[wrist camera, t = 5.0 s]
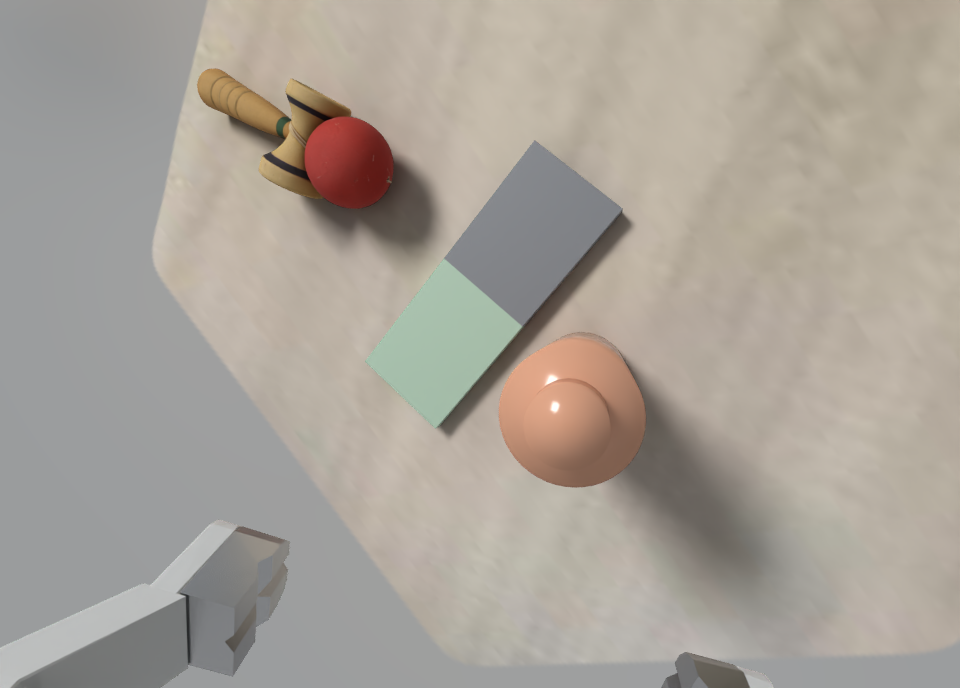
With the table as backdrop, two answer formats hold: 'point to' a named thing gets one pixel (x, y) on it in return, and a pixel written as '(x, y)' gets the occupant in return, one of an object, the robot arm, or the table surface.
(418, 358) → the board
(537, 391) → the bottle
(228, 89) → the kendama
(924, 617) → the table surface
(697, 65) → the table surface
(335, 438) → the table surface
